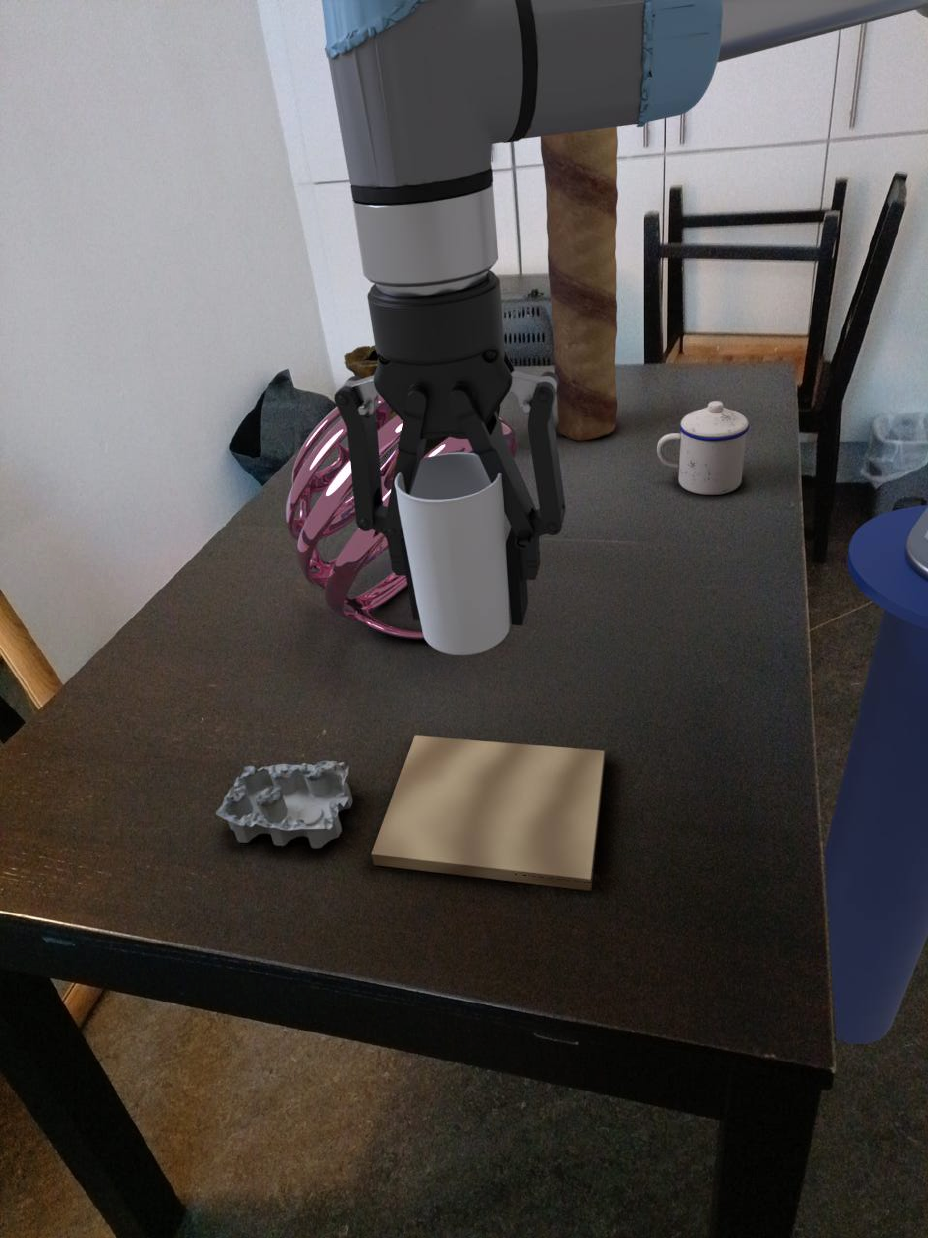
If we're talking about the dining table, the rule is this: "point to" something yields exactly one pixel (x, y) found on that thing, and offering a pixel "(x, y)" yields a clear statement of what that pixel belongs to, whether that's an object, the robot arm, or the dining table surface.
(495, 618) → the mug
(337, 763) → the egg carton
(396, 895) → the dining table surface
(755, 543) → the dining table surface
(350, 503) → the spiral basket
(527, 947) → the dining table surface
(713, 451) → the teacup with lid
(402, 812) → the board
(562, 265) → the wafer roll
